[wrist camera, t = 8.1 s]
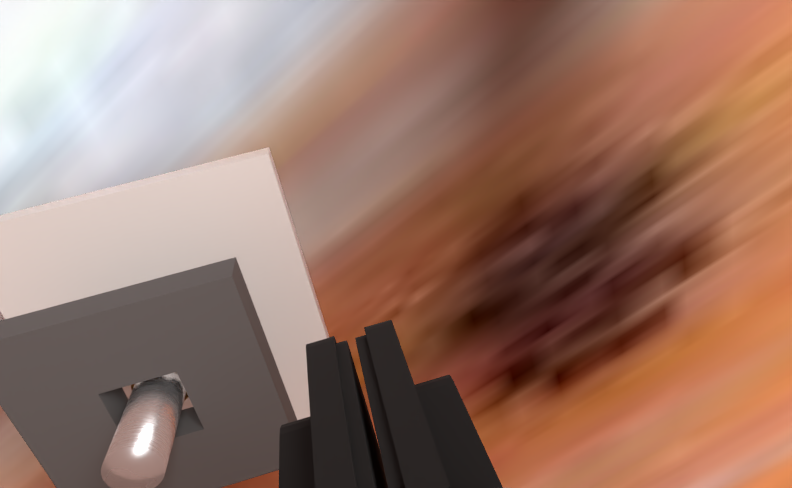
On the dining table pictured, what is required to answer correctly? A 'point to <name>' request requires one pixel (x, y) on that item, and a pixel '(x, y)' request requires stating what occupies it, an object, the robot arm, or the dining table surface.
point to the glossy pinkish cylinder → (145, 434)
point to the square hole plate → (148, 377)
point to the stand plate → (172, 250)
